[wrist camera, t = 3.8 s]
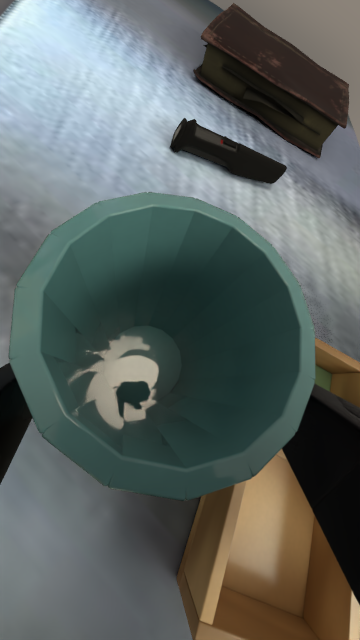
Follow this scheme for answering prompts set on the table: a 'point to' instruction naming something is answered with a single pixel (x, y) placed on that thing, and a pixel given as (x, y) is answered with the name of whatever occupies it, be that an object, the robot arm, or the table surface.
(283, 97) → the diary
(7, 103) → the table surface
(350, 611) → the divided wooden tray
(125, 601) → the table surface
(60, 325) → the tumbler
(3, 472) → the robot arm
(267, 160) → the electric trimmer
